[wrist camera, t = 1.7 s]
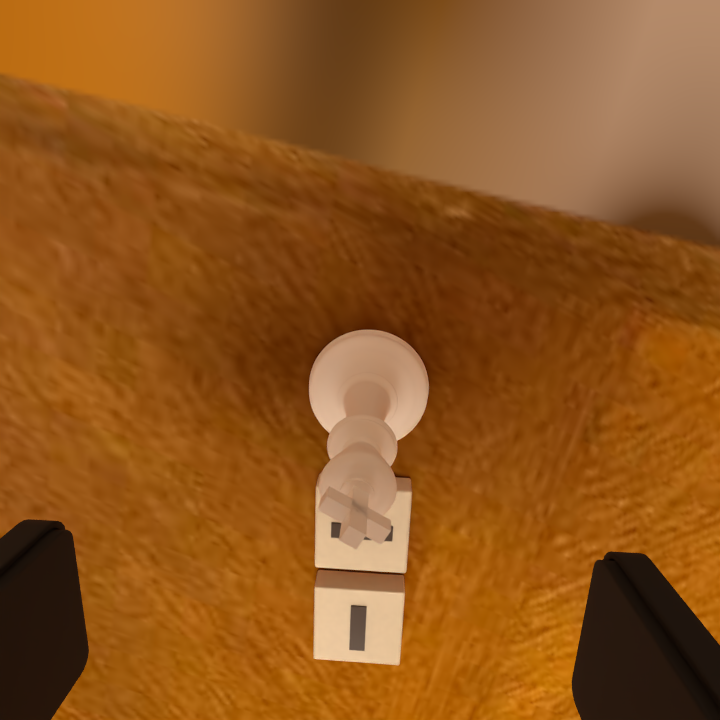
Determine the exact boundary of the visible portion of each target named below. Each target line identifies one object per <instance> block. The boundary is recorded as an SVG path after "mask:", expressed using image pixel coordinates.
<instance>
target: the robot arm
mask: <svg viewBox="0 0 720 720" xmlns="http://www.w3.org/2000/svg"><path fill="white" fill-rule="evenodd" d="M88 653H89V649H88V641H87V634H86V626H85V619H84V612H83V605H82V598H81V591H80V584H79V577H78V569H77V562H76V555H75V548H74V541H73V536H72V533H71V532H70V531H68V530H65V526H64V525H63V524H62V523H61V522H59V521H47V520H24V521H22V522H20V523H19V524H17V525H16V526H15V527H14V528H13V529H11V530H10V531H9V532H8V533H6V534H5V535H4V536H3V537H2V538H0V720H51V719H52V717H53V716H54V714H55V713H56V711H57V710H58V708H59V707H60V705H61V704H62V702H63V701H64V699H65V698H66V696H67V695H68V693H69V692H70V690H71V689H72V687H73V686H74V684H75V683H76V681H77V680H78V678H79V677H80V675H81V673H82V672H83V670H84V667H85V665H86V662H87V659H88ZM572 692H573V697H574V701H575V704H576V707H577V710H578V712H579V714H580V717H581V719H582V720H720V645H719V644H718V643H717V641H716V640H715V639H714V638H713V636H712V635H711V634H710V633H709V632H708V630H707V629H706V628H705V627H704V625H703V624H702V623H701V622H700V620H699V619H698V618H697V617H696V615H695V614H694V613H693V612H692V610H691V609H690V608H689V607H688V606H687V604H686V603H685V602H684V601H683V599H682V598H681V597H680V596H679V594H678V593H677V592H676V591H675V589H674V588H673V587H672V586H671V585H670V583H669V582H668V581H667V580H666V578H665V577H664V576H663V575H662V573H661V572H660V571H659V570H658V568H657V567H656V566H655V565H654V564H653V562H652V561H651V560H650V559H649V558H648V557H647V556H646V555H644V554H642V553H626V552H608V553H607V554H606V555H605V556H604V559H603V560H597V561H596V562H595V565H594V568H593V573H592V578H591V584H590V589H589V594H588V599H587V604H586V610H585V615H584V620H583V625H582V630H581V636H580V641H579V646H578V651H577V656H576V661H575V667H574V672H573V677H572Z"/></svg>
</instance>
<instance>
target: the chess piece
mask: <svg viewBox="0 0 720 720" xmlns="http://www.w3.org/2000/svg"><path fill="white" fill-rule="evenodd" d="M428 394H429V381H428V375H427V371H426V368H425V366H424V364H423V362H422V360H421V358H420V356H419V355H418V354H417V352H416V351H415V350H414V349H413V348H412V347H411V346H410V345H409V344H408V343H406V342H405V341H404V340H402V339H401V338H399V337H397V336H395V335H393V334H390V333H387V332H384V331H379V330H357V331H353V332H349V333H346V334H344V335H342V336H340V337H338V338H336V339H334V340H333V341H332V342H330V343H329V344H328V345H327V346H326V347H325V348H324V349H323V350H322V351H321V352H320V354H319V355H318V357H317V358H316V360H315V362H314V364H313V367H312V370H311V373H310V379H309V398H310V403H311V407H312V410H313V412H314V414H315V416H316V418H317V420H318V421H319V422H320V424H321V425H322V426H323V427H324V429H325V430H326V431H328V432H329V433H330V434H329V437H328V441H327V451H328V455H329V458H330V461H329V462H328V463H327V465H326V466H325V467H324V469H323V471H322V473H321V476H320V479H319V493H320V497H321V499H320V503H319V507H318V511H320V512H322V513H324V514H325V515H327V516H329V517H331V518H333V519H335V520H336V521H338V522H340V523H341V529H340V536H339V541H341V542H343V543H345V544H346V545H348V546H350V547H352V548H354V549H357V548H358V546H359V545H360V543H361V542H362V541H363V539H364V538H365V536H366V537H367V538H369V539H371V540H373V541H375V542H377V543H378V544H380V545H381V544H382V543H383V542H384V540H385V539H386V537H387V536H388V535H389V533H390V532H391V520H390V519H388V518H386V517H384V516H383V515H384V514H385V513H386V512H387V511H388V510H389V509H390V508H391V506H392V505H393V503H394V501H395V498H396V493H397V483H396V478H395V475H394V473H393V471H392V469H391V467H390V466H391V465H392V464H393V462H394V460H395V458H396V455H397V441H398V440H400V439H401V438H403V437H404V436H406V435H407V434H408V433H409V432H410V431H412V430H413V428H414V427H415V426H416V425H417V424H418V422H419V421H420V419H421V417H422V415H423V413H424V411H425V408H426V404H427V399H428Z"/></svg>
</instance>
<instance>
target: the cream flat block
mask: <svg viewBox="0 0 720 720" xmlns="http://www.w3.org/2000/svg"><path fill="white" fill-rule="evenodd" d="M320 476H321V473H320V474H319V477H318V480H317V484H316V504H315V567H319V568H335V569H350V570H365V571H380V572H396V573H406V571H407V557H408V543H409V530H410V516H411V502H412V486H411V479H410V478H399V477H395V478H396V483H397V493H396V498H395V501H394V503H393V505H392V506H391V508H390V509H389V510H388V511H387V512H386V513H385V514H384V515H383V516H384V517H386V518H388V519H390V520H391V532H390V533H389V535H388V536H387V537H386V539H385V540H384V542H383V543H382V544H381V545H380V544H378V543H377V542H375V541H373V540H371V539H369V538H367V537H366V536H365V538H364V539H363V541H362V542H361V543H360V545H359V546H358V548H357V549H354V548H352V547H350V546H348V545H346V544H345V543H343V542H341V541H339V536H340V529H341V523H340V522H338V521H336V520H335V519H333V518H331V517H329V516H327V515H325V514H324V513H322V512H320V511H318V507H319V503H320V499H321V497H320V493H319V479H320ZM404 599H405V586H404V576H403V575H392V574H377V573H362V572H347V571H332V570H318V572H317V577H316V582H315V587H314V659H323V660H336V661H350V662H363V663H377V664H391V665H399V664H400V654H401V641H402V627H403V613H404Z"/></svg>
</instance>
